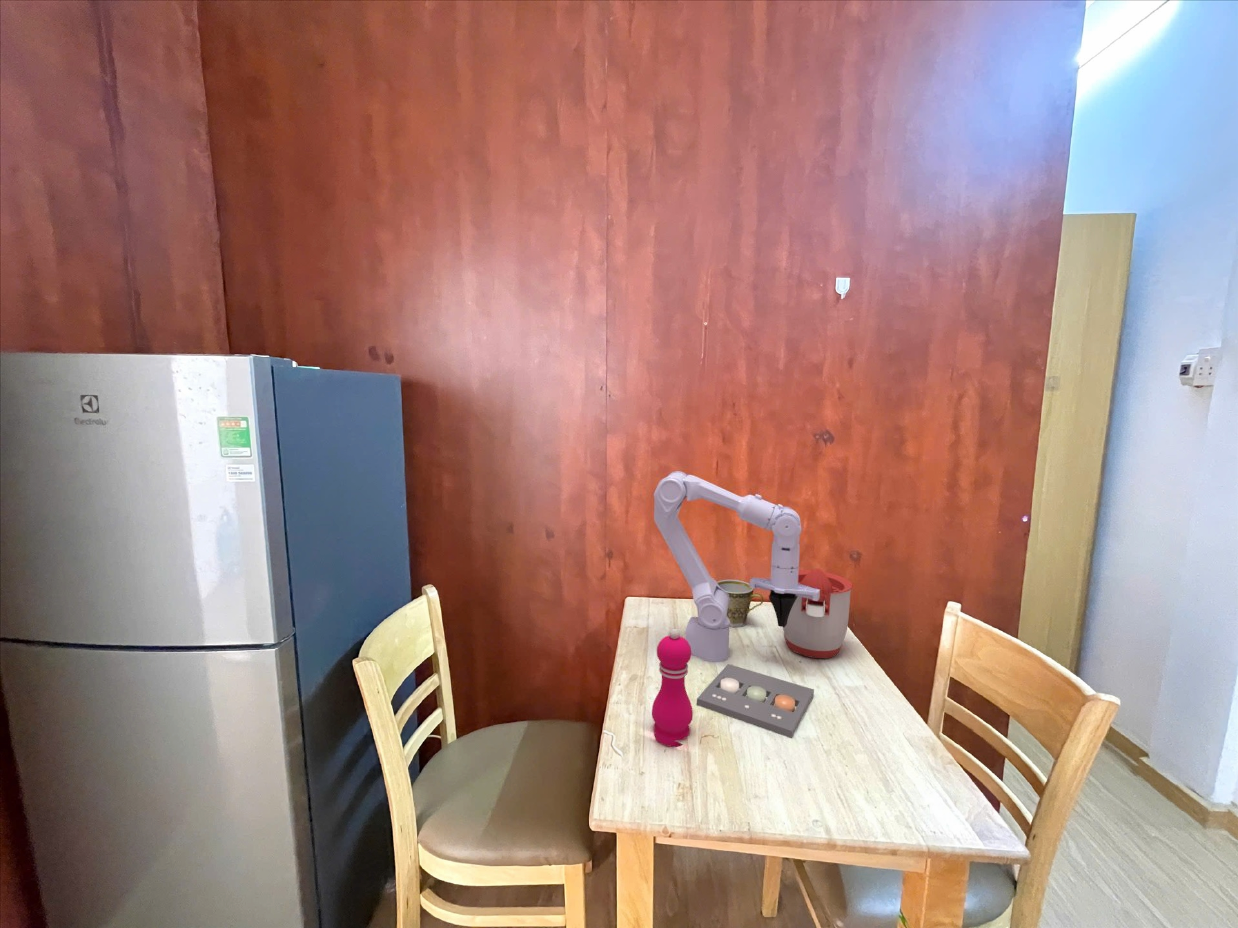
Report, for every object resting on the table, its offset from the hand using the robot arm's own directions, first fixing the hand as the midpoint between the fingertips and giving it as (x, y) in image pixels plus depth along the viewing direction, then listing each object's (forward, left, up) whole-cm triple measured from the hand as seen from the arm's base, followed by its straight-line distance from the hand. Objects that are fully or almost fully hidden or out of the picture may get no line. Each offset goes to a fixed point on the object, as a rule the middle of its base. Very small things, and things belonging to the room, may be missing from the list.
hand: (782, 624), depth 118 cm
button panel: (0, -17, -10) cm, 20 cm away
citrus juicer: (+4, +14, -11) cm, 18 cm away
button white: (-5, -17, -10) cm, 20 cm away
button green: (0, -17, -10) cm, 19 cm away
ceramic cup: (-16, +18, -11) cm, 27 cm away
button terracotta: (+6, -17, -10) cm, 20 cm away
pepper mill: (-9, -34, -11) cm, 37 cm away
